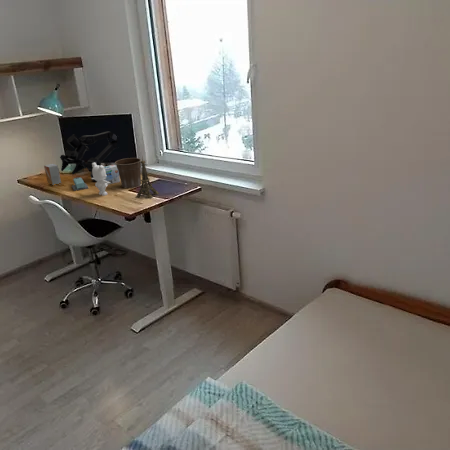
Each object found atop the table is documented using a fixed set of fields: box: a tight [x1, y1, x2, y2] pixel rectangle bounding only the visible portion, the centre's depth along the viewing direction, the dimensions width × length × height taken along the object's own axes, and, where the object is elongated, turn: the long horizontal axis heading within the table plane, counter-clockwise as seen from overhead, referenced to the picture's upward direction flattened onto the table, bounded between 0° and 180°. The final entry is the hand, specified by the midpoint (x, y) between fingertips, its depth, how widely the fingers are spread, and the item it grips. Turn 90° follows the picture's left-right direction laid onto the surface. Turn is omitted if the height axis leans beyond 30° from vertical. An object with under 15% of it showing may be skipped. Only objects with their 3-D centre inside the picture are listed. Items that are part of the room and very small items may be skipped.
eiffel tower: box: [134, 156, 160, 199], centre depth 270 cm, size 11×11×25 cm
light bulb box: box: [104, 164, 121, 186], centre depth 304 cm, size 11×7×11 cm, turn 129°
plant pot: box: [114, 157, 142, 189], centre depth 293 cm, size 16×16×16 cm
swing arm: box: [73, 176, 86, 189], centre depth 300 cm, size 5×17×3 cm, turn 24°
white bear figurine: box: [90, 162, 111, 196], centre depth 278 cm, size 8×20×19 cm, turn 47°
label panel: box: [71, 182, 90, 192], centre depth 299 cm, size 9×11×1 cm
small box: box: [43, 163, 62, 186], centre depth 309 cm, size 8×6×13 cm
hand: (67, 172), depth 293 cm, fingers open, 9 cm apart
